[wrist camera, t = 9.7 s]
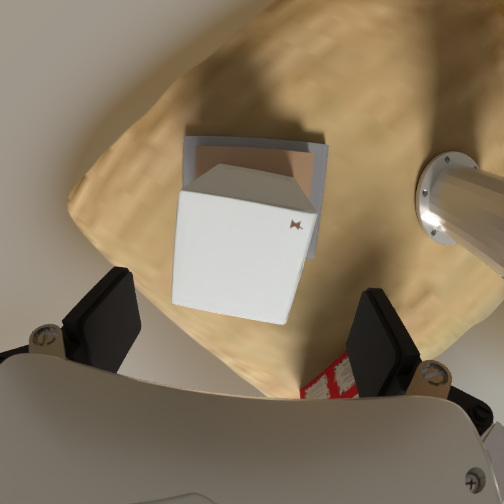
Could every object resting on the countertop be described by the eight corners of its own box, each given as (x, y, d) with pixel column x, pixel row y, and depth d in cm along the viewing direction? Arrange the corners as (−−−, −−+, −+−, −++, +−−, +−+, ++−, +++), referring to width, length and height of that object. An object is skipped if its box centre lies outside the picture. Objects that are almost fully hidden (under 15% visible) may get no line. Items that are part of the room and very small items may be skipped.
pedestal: (325, 144, 28) (335, 145, 24) (312, 254, 33) (318, 271, 29) (187, 135, 28) (175, 136, 24) (187, 245, 33) (177, 261, 29)
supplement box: (217, 161, 25) (177, 183, 13) (296, 177, 25) (323, 212, 14) (205, 234, 28) (167, 305, 16) (278, 248, 28) (287, 328, 16)
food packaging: (321, 399, 44) (338, 524, 21) (299, 391, 43) (310, 525, 20) (381, 348, 39) (433, 485, 16) (361, 337, 38) (412, 488, 15)
